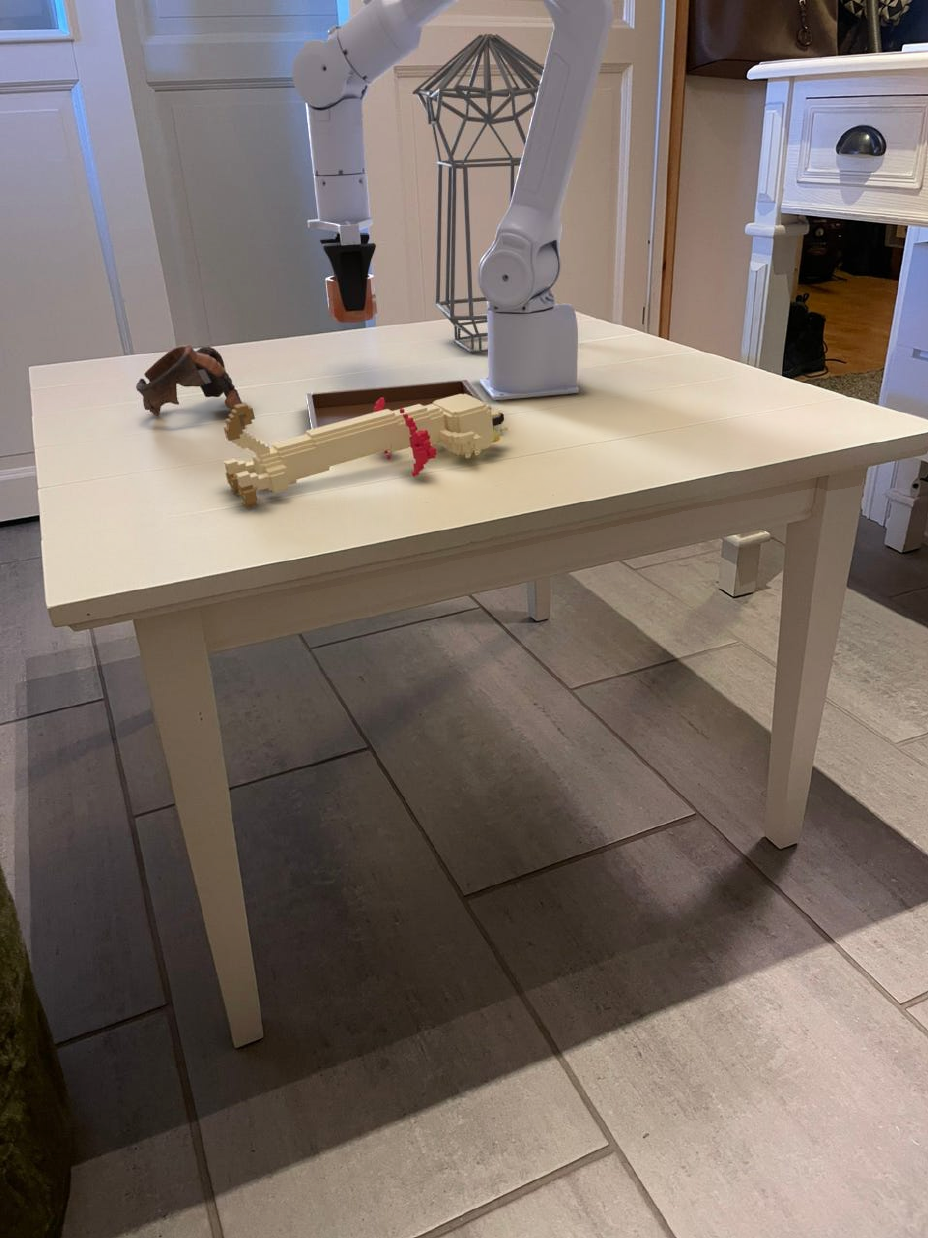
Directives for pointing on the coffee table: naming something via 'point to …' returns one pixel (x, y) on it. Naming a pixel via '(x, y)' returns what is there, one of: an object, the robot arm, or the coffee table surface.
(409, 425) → the cat figure
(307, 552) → the coffee table surface
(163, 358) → the broken pottery shard
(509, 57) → the geometric lantern
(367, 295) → the cup
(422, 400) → the tray
